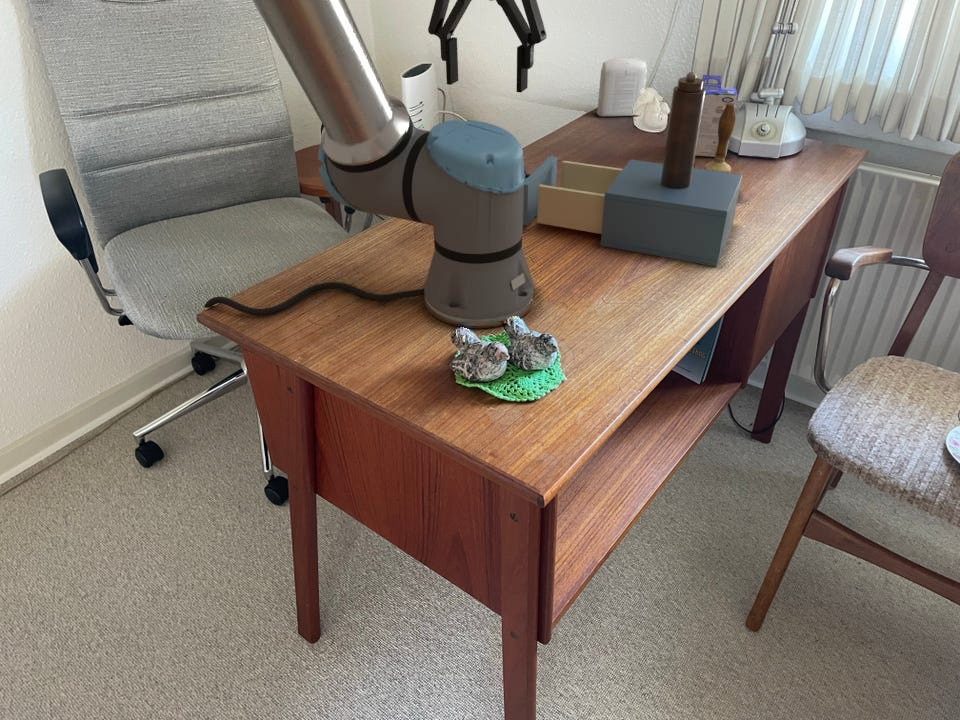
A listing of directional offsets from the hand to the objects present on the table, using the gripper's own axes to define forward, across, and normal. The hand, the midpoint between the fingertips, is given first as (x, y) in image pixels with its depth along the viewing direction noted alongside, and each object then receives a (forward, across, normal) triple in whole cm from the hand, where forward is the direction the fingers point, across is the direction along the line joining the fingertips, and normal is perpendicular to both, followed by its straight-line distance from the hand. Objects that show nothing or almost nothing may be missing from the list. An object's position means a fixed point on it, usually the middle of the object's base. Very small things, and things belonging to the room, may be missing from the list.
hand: (486, 86), depth 115 cm
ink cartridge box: (+20, +29, +40) cm, 53 cm away
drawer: (+19, +15, 0) cm, 24 cm away
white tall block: (+20, +7, +58) cm, 62 cm away
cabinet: (+20, +31, 0) cm, 37 cm away
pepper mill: (+11, +31, 0) cm, 33 cm away
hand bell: (+20, +35, +19) cm, 45 cm away
